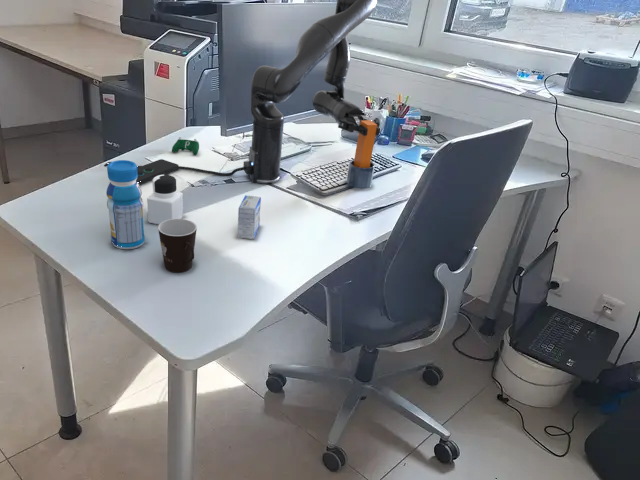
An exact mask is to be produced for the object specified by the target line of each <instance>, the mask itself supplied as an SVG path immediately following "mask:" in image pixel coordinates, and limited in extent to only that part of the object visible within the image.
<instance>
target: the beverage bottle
mask: <svg viewBox="0 0 640 480" xmlns="http://www.w3.org/2000/svg"><path fill="white" fill-rule="evenodd" d="M110 162H111V163H109V164H108V165H107V166H106V170H107V171H106V173H107V179H108V180H109V181H110V182H109V183H108V184H107V187H106V192H105V193H106V197H107V199H106V208H107V210H108V219H109V226H110V242H111V245H112V246H113V247H115V248H117V249H119V250H133V249H137V248H140V247H142V246H143V245H144V244H145V242H146V239H145V229H144V212H143V211H144V210H143V209H144V208H143V207H144V199H143V198H142V197H141V196H142V194H143V191H142V187H141V185H139V184H138V183H137V181H136V180H137V177H138V173H137V166H138V165H137V163H136V162H134V161H132V160H126V159H120V160H119V159H117V160H113V161H110ZM112 242H113V243H114V244H113V243H112ZM117 245H118V246H117ZM121 246H122V247H121Z"/></svg>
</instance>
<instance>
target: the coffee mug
mask: <svg viewBox="0 0 640 480" xmlns="http://www.w3.org/2000/svg"><path fill="white" fill-rule="evenodd" d="M197 229H198V226H197V224H196V223H195V222H194V221H191V220H189V219H186V218H181V219H169V220H166V221H163V222H161V223H160V224H158V225H157V231H158V235H159V236H158V237H159V242H160V247H161V254H162V259H163V265H164V269H165V270H166V271H168V272H171V273H174V274H183V273H186V272H188V271H190V270H191V269H192V267H193V261H194V259H195V246H196V238H197Z"/></svg>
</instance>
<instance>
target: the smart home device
mask: <svg viewBox="0 0 640 480" xmlns="http://www.w3.org/2000/svg"><path fill="white" fill-rule="evenodd" d="M139 166H140V167H138V168H137V173H138V177H137V180H136V181H137V182H139V183H138V184H139V186H142V185H143V184H146V183H149V182H151V181H152V182H153V178H154V177H156V176H159V175H170V174H172V173H174V172H177V171H179V169H178V166H179V164H178V163H175V162H172V161H169V160H166V159H163V158H160V159H156V160H155V161H151V162H149V163H146V164H143V165H139ZM140 181H141V182H140Z"/></svg>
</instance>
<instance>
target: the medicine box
mask: <svg viewBox="0 0 640 480" xmlns="http://www.w3.org/2000/svg"><path fill="white" fill-rule="evenodd" d="M261 202H262V197H261V196H255V195H244V197H243V199H242V200H241V203H240V204H239V206H238V209H237V210H238V212H237V238H238V239H239V238H240V239H248V240H255V238H256V235H257V233H258V231H259V228H260V221H261V220H260V219H261V207H262V206H261V205H262V203H261Z"/></svg>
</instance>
